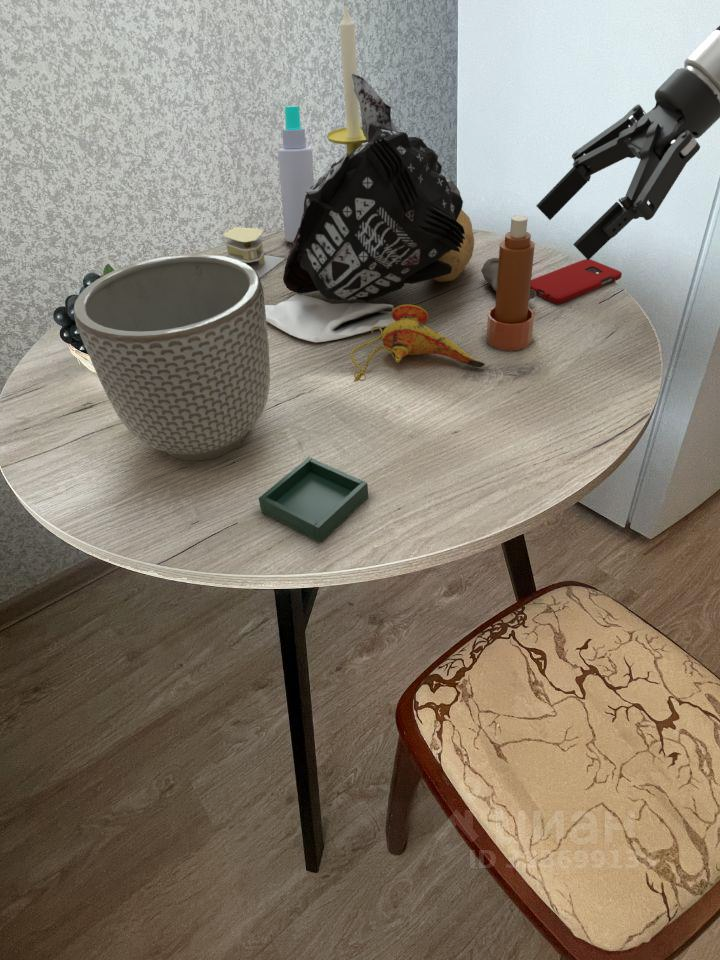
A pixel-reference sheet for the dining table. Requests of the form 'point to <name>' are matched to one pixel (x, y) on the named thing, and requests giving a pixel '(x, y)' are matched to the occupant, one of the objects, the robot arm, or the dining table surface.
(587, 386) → the dining table surface
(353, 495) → the tray
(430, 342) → the magic lamp
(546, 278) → the cell phone
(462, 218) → the potato
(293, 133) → the spray bottle
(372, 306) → the cloth
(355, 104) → the candle
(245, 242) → the stacked layers on plate
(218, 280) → the planter
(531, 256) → the bottle
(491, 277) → the rhino figurine
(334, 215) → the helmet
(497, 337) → the terracotta round cup
